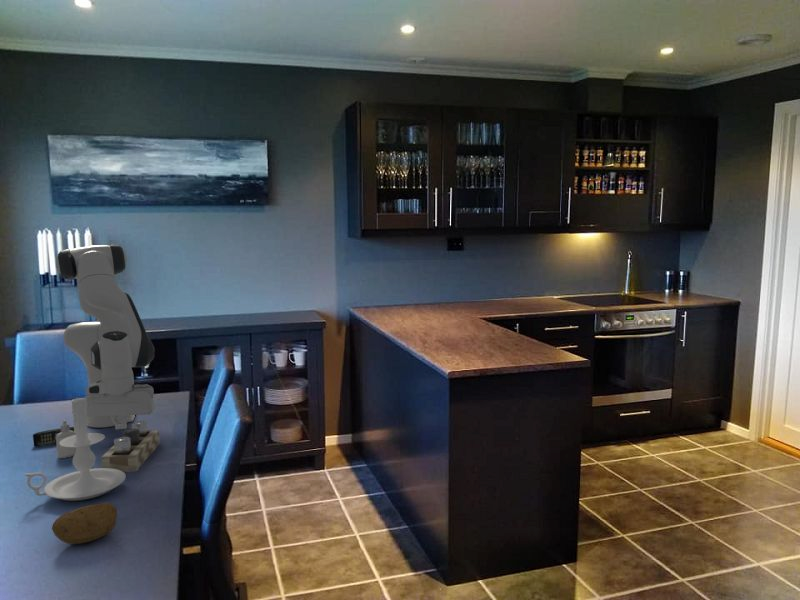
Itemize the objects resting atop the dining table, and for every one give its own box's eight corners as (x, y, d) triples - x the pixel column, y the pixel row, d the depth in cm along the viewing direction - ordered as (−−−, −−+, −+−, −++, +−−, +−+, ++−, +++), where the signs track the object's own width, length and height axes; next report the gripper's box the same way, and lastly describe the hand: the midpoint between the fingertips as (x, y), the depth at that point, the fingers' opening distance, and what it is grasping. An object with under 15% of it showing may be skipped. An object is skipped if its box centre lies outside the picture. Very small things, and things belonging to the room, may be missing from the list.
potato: (51, 540, 149) (48, 509, 149) (114, 524, 157) (112, 494, 156) (56, 558, 141) (53, 525, 140) (122, 540, 149) (120, 508, 148)
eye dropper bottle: (76, 457, 203) (73, 421, 202) (56, 459, 201) (53, 423, 200) (77, 452, 207) (75, 417, 206) (58, 454, 205) (56, 419, 204)
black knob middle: (127, 443, 204) (126, 428, 203) (141, 443, 204) (140, 428, 204) (122, 448, 199) (121, 433, 199) (136, 448, 200) (135, 432, 199)
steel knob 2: (135, 435, 212) (134, 421, 211) (149, 434, 212) (148, 420, 211) (130, 439, 207) (129, 425, 207) (144, 439, 208) (143, 424, 207)
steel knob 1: (118, 452, 196) (117, 437, 195) (133, 451, 196) (132, 436, 196) (112, 457, 191) (111, 442, 191) (128, 457, 192) (127, 441, 191)
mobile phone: (32, 434, 212) (81, 426, 219) (32, 432, 214) (81, 423, 222) (34, 448, 212) (83, 439, 220) (34, 446, 215) (82, 437, 222)
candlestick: (28, 490, 178) (19, 395, 175) (122, 473, 190) (116, 383, 186) (25, 520, 160) (16, 414, 157) (130, 498, 172) (123, 399, 169)
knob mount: (129, 445, 214) (128, 431, 213) (159, 444, 214) (158, 430, 214) (102, 473, 190) (101, 457, 189) (136, 471, 191) (135, 455, 190)
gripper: (156, 381, 195) (158, 424, 197) (88, 383, 193) (91, 426, 195) (150, 386, 189) (152, 430, 190) (79, 388, 187) (83, 433, 189)
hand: (121, 428), depth 193 cm, fingers closed
